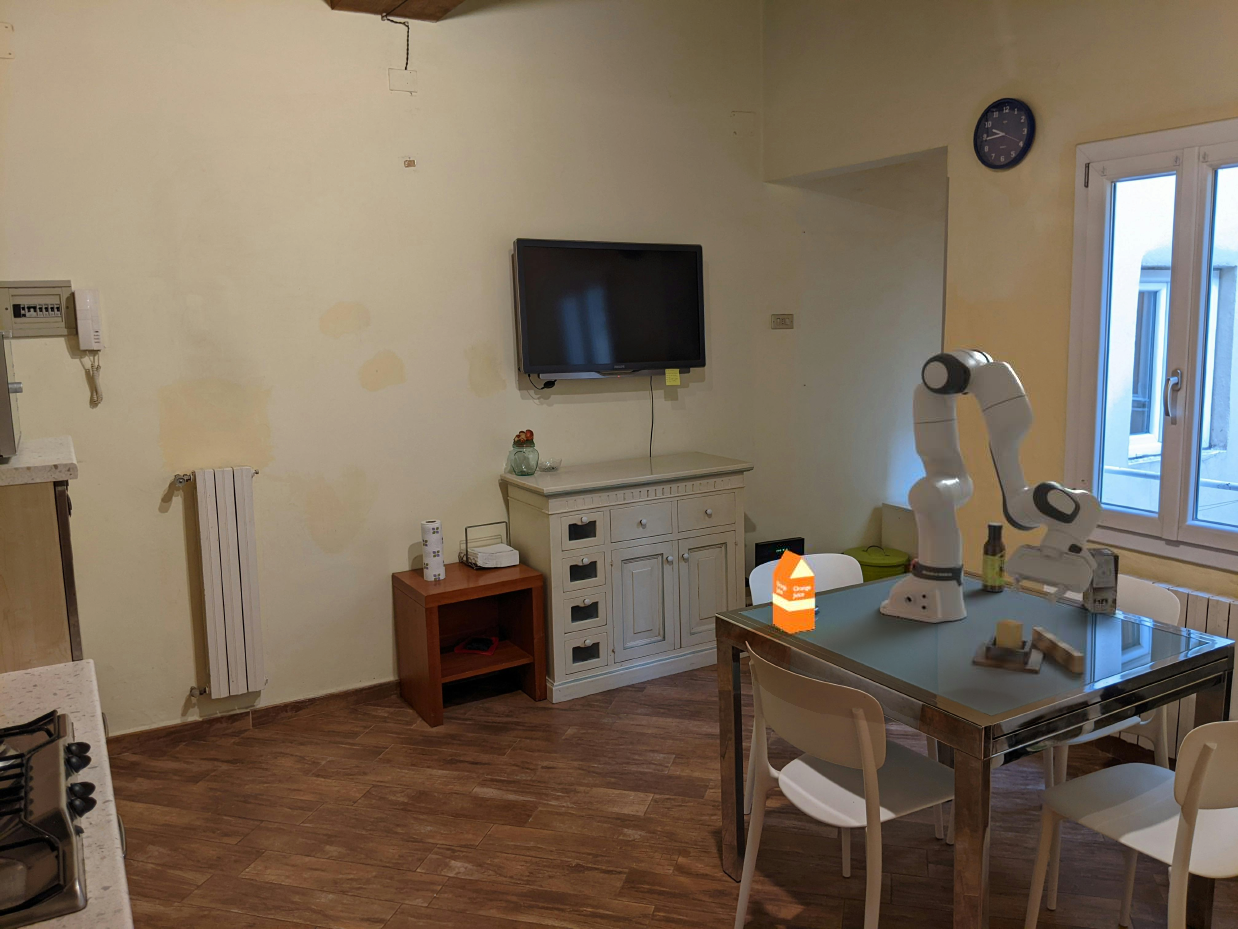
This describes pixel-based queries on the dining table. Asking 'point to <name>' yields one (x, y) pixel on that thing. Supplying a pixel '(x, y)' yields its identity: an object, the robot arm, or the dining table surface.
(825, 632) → the dining table surface
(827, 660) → the dining table surface
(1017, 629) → the stop block
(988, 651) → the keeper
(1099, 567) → the coffee box
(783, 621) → the orange juice
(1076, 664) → the strip
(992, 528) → the sauce bottle
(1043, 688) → the dining table surface
